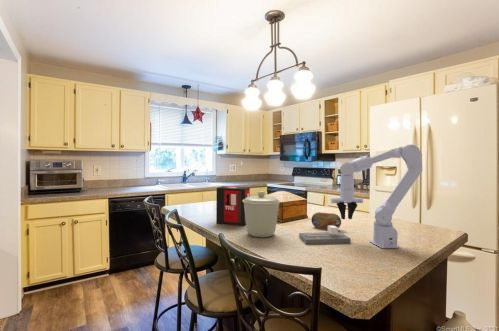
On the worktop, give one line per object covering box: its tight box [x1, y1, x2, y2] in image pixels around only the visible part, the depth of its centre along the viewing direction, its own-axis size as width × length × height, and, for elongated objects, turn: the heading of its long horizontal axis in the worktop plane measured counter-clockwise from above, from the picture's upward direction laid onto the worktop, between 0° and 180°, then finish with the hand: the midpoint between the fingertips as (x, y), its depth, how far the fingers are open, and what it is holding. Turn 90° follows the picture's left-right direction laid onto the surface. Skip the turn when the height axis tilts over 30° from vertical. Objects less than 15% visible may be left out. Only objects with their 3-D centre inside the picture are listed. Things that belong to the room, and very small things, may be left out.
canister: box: [242, 190, 281, 238], centre depth 128 cm, size 18×18×21 cm
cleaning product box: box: [215, 185, 251, 227], centre depth 150 cm, size 16×9×20 cm, turn 73°
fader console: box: [298, 231, 352, 245], centre depth 120 cm, size 10×20×3 cm, turn 97°
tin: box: [310, 212, 342, 230], centre depth 140 cm, size 15×3×8 cm, turn 62°
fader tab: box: [327, 225, 339, 235], centre depth 121 cm, size 4×3×4 cm
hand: (346, 218), depth 121 cm, fingers open, 3 cm apart
